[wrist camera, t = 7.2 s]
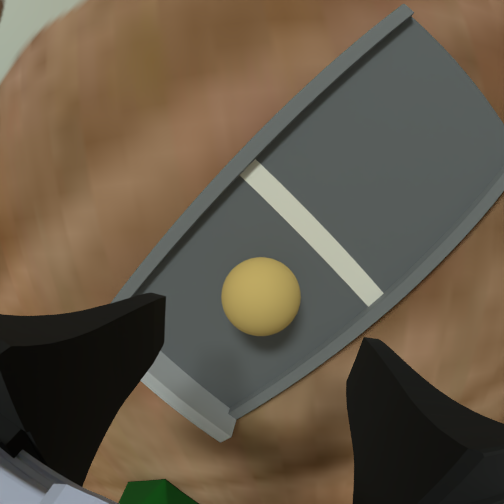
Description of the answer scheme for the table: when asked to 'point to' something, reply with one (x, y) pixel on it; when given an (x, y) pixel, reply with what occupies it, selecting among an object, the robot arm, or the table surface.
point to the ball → (261, 296)
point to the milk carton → (153, 493)
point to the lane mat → (324, 219)
